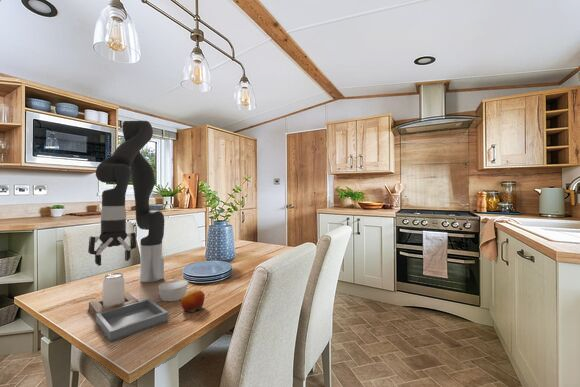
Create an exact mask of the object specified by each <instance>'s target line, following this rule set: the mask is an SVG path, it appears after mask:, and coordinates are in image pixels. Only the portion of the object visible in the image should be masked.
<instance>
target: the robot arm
mask: <svg viewBox="0 0 580 387" xmlns="http://www.w3.org/2000/svg"><path fill="white" fill-rule="evenodd" d="M122 134H123V138H124V141H123V142H122V143H121V144H120V145H118V146H117V147H116V148H115V150H114V152H113V153H112V155H109V157H107V158H105V159H104V160H102V161H101V162H99V164H98V165H97V167H96V168H95V177H96V178H97V180H98V181H100V183H105V184H106V183H107V184H109V183H110V184H116V185H115V187H113V188H110V189H105V190H103V191H102V193H101V209H100V210H101V211H100V234H99V235H98V236H93V235H90V236H89V238H88V240H89V241H88V249H87V253H89V254H90V255H94V264H96V265H97V266H98V267H99V266H102V255H101V254H102V252H104V251H105V249H106V248H112V247H120V246H122V248H124V249H125V250H124V261H125V262H128V261H129V260H130V259H131V255H132V254H131V251H132V250H133V249H136V248H137V237H136V236H137V235H136V233H135V232H134V231H133V232H132V231H130V232H128V233H127V231H126V230H127V221H126V220H127V210H126V193H127V190H128V186H129V183H130V181H132V182H131V184H132V187H133V188H132V189H133V194H134V196H133V197H134V203H135V205H134V208H135V222H136V225H137V227H138V228H139V229H141V230H148V234H147V235H146V236H144V237H142V238H140V241H139V242H140V249H139V250H140V251H139V252H140V255H139V256H140V262H139V263H140V265H139V266H140V271H139V272H140V282H141V283H154V282H158V281H160V280H162V279H164V278H165V277H164V276H165V266H164V265H165V259H164V258H163V239H164V235H165V233H164V232H165V216H164V213H163V212H162V211H160V210H151V209H150V197H151V194H152V192H153V189H154V187H155V182H156V180H155V172H154V169H153V167H152V164H150V162H148V160H146V158H145V157H144V156H143V154H142V153H141V152H140V151H141V150H142V149H143V148H144V147H145V146H146V145H147V144H148V143H149V142H150V141H151V140H152V137H153V135H154V130H153V126H152V124H151V123H150V121H148V120H146V119H145V120H144V119H135V120H131V119H129V120H127V119H126V120H124V121H123V123H122ZM127 238H128V239H129V242H130V245H128V244H127V243H126V241H125V240H126V239H127ZM98 241H101V242H100V244H99V246H98V247H97V248H96V249H95V245H96V243H97V242H98Z"/></svg>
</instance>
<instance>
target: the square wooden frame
mask: <svg viewBox="0 0 580 387" xmlns="http://www.w3.org/2000/svg"><path fill="white" fill-rule="evenodd" d="M139 301H140V300H139V299H137V298H136V297H135V296H133V295H132V294H131V293H130V292H128V291H126V292H125V302H124V303H121V304H117V305H113V306H110V307H106V308H104V307H103V297H102V298H99V299H96V300H90V301H88V309H89V311H90V312H91V314H92V315H93V316H94V318H96V314H97V313H101V312H104V311H108V310H111V309H114V308H118V307H121V306H125V305H128V304H132V303H135V302H139Z"/></svg>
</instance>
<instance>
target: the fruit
mask: <svg viewBox="0 0 580 387" xmlns="http://www.w3.org/2000/svg"><path fill="white" fill-rule="evenodd" d="M205 296H206V295H205V292H204V291H202V290H201V289H191V290H190V291H189V292H188V291H187V292H186V294H185V295H184V296H183V297H182V299H180V304H181V308H182V309H183V311H185V312H188V313H190V312H191V313H195V312H196V310H199V309H203V310H204V308H203V306H204V304H205V303H204V302H205V299H206V298H205Z"/></svg>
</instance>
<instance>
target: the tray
mask: <svg viewBox="0 0 580 387" xmlns="http://www.w3.org/2000/svg"><path fill="white" fill-rule="evenodd" d="M138 301H139V302H135V303H132V304H128V305H125V306H121V307H118V308H114V309H111V310H108V311H104V312H101V313H97V314H96V317H95V324H96V325H97V326H98V328H99V329H100V331H101V332H102V333H103V335H104V336H105V337H106V339H107V340H108V342H109V343H113V342H115V341H118V340H121V339H123V338H126V337H129V336H132V335H134V334H137V333H140V332H143V331H145V330H147V329H151V328H153V327H156V326H159V325H161V324H164V323H166V322H168V321H169V319H168V318H169V317H168V316H169V312H168V311H167V310H166V309H164V308H163V307H161V306H160V305H159V304H157V303H156V302H155V301H153V300H152V299H150V298H146V299H143V300H138Z"/></svg>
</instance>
